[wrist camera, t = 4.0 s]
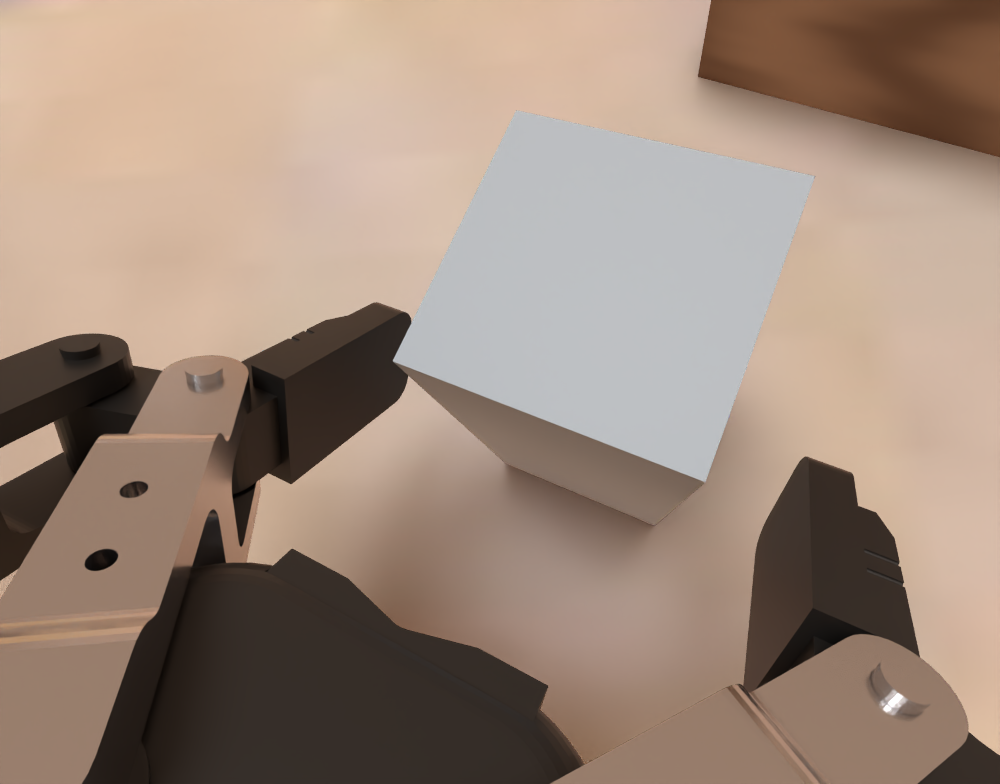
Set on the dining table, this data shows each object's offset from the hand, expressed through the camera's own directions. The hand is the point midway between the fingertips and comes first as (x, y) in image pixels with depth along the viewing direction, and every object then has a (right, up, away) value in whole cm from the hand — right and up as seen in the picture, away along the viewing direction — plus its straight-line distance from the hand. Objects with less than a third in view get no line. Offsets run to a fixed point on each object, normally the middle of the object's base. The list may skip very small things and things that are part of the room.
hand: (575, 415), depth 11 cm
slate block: (+2, -1, +7) cm, 7 cm away
